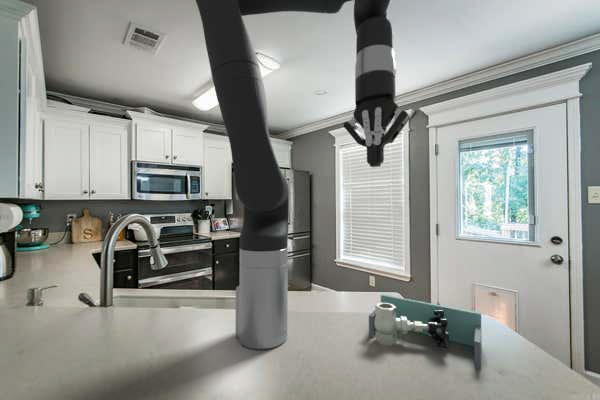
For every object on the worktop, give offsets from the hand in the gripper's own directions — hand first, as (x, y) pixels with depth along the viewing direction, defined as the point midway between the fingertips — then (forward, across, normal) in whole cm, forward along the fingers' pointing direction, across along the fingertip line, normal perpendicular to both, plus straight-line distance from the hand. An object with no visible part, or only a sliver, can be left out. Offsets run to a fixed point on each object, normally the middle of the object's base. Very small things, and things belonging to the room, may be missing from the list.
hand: (375, 166), depth 52 cm
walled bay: (+33, +8, +4) cm, 34 cm away
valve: (+33, +5, +2) cm, 34 cm away
